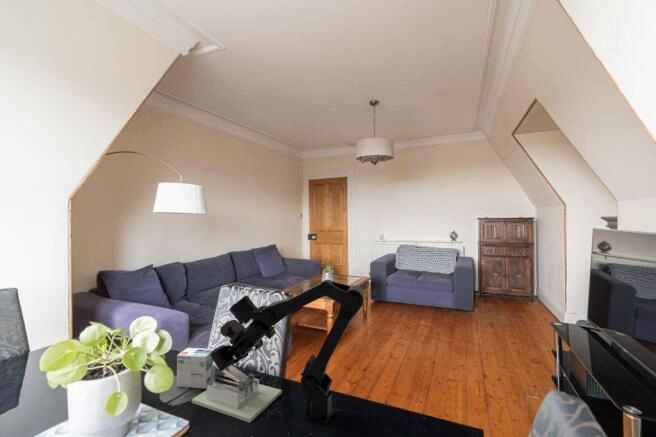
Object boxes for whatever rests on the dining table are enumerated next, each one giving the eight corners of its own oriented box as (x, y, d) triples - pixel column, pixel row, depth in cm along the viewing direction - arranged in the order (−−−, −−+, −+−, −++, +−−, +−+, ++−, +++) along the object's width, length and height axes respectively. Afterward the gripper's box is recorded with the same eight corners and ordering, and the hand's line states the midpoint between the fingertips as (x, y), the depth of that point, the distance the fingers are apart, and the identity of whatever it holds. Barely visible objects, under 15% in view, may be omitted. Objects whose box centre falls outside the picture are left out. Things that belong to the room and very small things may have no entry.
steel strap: (251, 383, 92) (252, 378, 92) (244, 388, 90) (246, 383, 90) (218, 361, 98) (220, 356, 98) (211, 365, 95) (213, 360, 95)
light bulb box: (215, 379, 105) (216, 348, 105) (206, 389, 98) (206, 356, 99) (186, 377, 106) (187, 346, 106) (175, 387, 99) (176, 354, 100)
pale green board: (281, 393, 97) (281, 390, 97) (249, 422, 82) (250, 418, 82) (228, 378, 105) (228, 375, 105) (191, 402, 91) (191, 399, 91)
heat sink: (258, 391, 95) (259, 366, 96) (237, 409, 86) (238, 380, 86) (226, 382, 101) (226, 358, 101) (203, 398, 92) (203, 371, 92)
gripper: (256, 306, 102) (230, 334, 106) (216, 321, 85) (187, 354, 89) (275, 332, 99) (248, 360, 103) (237, 354, 81) (206, 386, 86)
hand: (224, 364), depth 95 cm, fingers closed, pressing on steel strap
